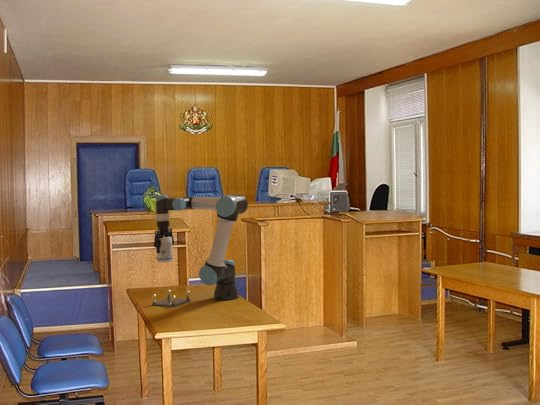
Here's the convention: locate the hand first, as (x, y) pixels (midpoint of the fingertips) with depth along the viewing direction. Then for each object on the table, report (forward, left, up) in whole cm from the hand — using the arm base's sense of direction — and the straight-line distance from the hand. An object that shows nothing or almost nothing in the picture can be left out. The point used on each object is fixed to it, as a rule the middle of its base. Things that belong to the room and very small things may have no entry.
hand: (164, 257), depth 372 cm
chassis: (-12, +11, -25) cm, 30 cm away
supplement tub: (0, 0, -3) cm, 3 cm away
